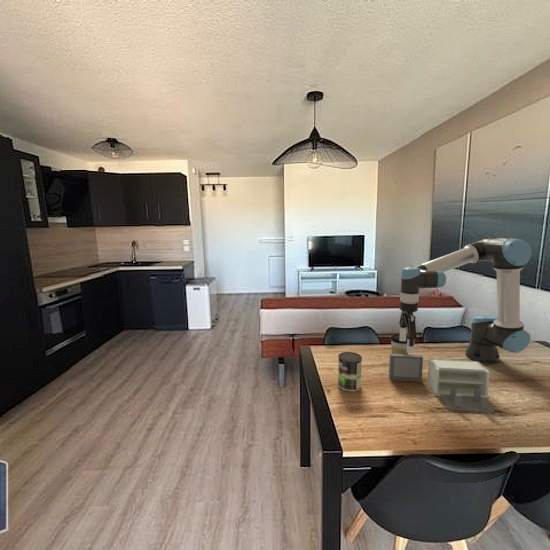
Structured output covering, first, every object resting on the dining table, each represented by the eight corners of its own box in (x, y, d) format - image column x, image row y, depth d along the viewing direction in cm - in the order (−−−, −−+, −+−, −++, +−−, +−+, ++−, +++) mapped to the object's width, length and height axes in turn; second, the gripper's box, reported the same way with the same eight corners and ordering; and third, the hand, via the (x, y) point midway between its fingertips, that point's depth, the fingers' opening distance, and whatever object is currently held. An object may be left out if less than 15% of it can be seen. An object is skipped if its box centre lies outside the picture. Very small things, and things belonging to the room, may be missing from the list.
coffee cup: (412, 368, 153) (414, 340, 151) (393, 368, 153) (394, 340, 151) (405, 359, 163) (406, 332, 160) (386, 359, 163) (387, 333, 161)
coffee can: (346, 393, 132) (347, 363, 129) (333, 382, 141) (333, 354, 139) (366, 388, 136) (366, 358, 133) (352, 378, 145) (352, 350, 143)
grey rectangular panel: (420, 378, 143) (421, 354, 141) (421, 381, 140) (423, 357, 138) (388, 377, 145) (389, 353, 143) (389, 379, 143) (390, 355, 141)
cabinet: (475, 386, 135) (478, 361, 133) (499, 413, 116) (503, 384, 114) (427, 383, 138) (429, 358, 136) (443, 409, 119) (445, 381, 117)
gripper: (394, 295, 149) (392, 336, 153) (407, 309, 125) (404, 357, 129) (410, 295, 148) (407, 337, 152) (426, 309, 124) (423, 358, 127)
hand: (406, 346), depth 140 cm, fingers open, 13 cm apart
